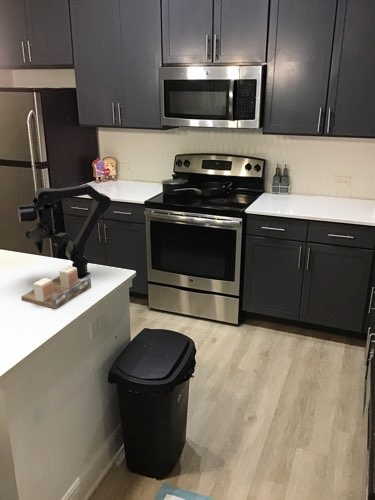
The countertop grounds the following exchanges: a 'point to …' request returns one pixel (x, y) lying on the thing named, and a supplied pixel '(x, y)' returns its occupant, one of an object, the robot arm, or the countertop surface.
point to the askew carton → (68, 277)
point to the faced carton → (43, 289)
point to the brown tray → (59, 293)
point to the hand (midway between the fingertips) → (49, 254)
